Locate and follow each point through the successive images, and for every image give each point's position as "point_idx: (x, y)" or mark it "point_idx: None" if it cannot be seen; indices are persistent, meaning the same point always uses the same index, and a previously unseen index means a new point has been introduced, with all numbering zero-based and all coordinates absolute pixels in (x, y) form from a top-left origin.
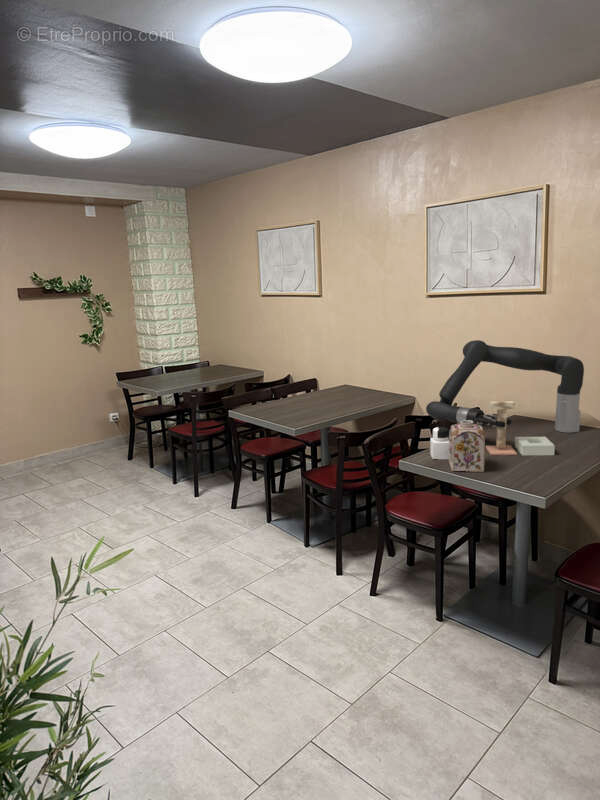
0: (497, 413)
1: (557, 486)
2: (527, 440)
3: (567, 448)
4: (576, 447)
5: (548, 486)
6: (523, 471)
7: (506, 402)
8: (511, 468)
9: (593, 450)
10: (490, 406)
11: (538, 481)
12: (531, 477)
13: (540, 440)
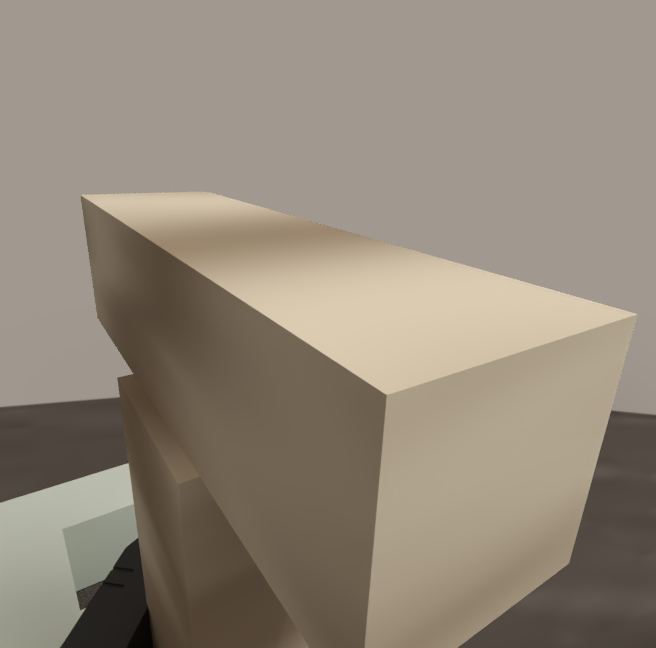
0: (218, 625)
1: (615, 417)
2: (79, 609)
3: (48, 469)
4: (23, 445)
5: (651, 433)
6: (611, 542)
7: (233, 212)
8: (646, 615)
9: (73, 401)
10: (453, 590)
11: (649, 465)
12: (641, 494)
13: (100, 514)
